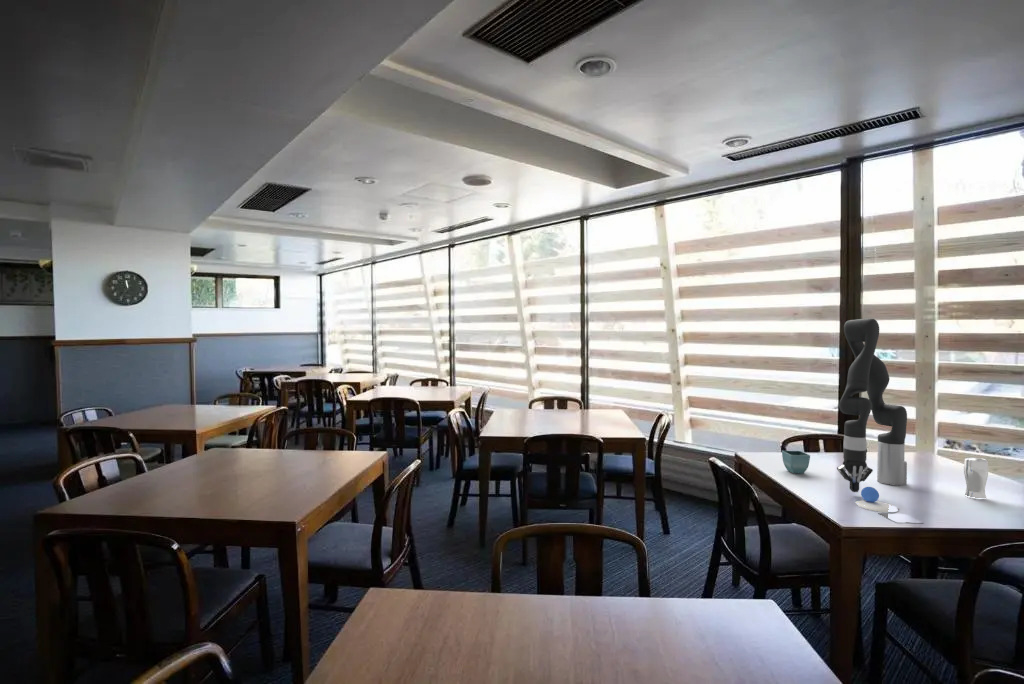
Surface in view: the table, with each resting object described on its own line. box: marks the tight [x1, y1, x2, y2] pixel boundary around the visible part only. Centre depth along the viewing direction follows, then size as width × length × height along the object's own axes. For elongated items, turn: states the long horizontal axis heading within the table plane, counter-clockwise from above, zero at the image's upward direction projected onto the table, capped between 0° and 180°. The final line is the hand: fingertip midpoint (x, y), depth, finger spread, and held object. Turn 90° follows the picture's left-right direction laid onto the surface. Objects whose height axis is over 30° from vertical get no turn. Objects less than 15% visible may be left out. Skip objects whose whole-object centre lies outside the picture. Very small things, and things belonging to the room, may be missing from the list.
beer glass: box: [963, 456, 989, 499], centre depth 196 cm, size 7×7×15 cm
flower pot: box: [781, 450, 811, 474], centre depth 233 cm, size 9×9×9 cm
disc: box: [855, 499, 893, 513], centre depth 186 cm, size 13×13×1 cm
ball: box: [860, 486, 880, 502], centre depth 192 cm, size 6×6×6 cm
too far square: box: [877, 512, 888, 519], centre depth 174 cm, size 9×9×1 cm
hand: (854, 491), depth 199 cm, fingers closed
